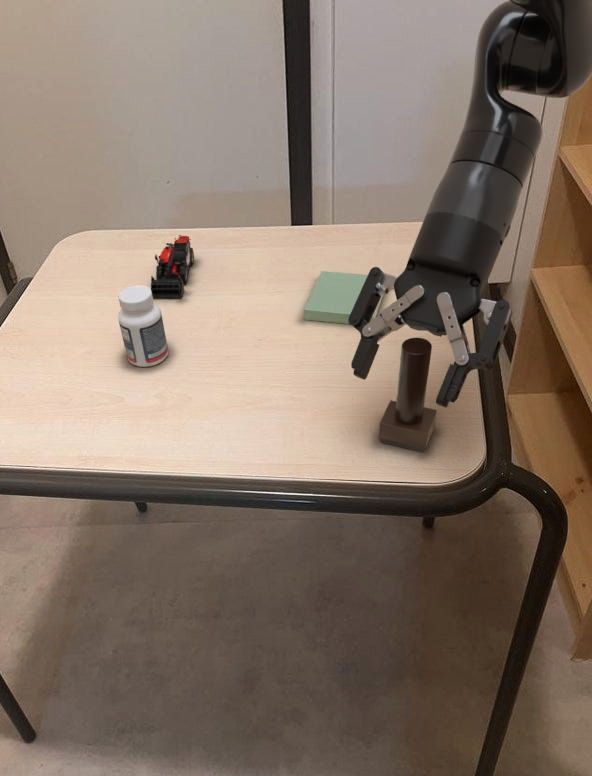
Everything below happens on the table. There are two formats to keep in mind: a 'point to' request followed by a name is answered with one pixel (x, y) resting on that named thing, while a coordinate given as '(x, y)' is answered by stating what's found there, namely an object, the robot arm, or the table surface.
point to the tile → (335, 297)
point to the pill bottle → (142, 327)
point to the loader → (173, 268)
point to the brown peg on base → (410, 400)
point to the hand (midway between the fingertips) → (398, 391)
